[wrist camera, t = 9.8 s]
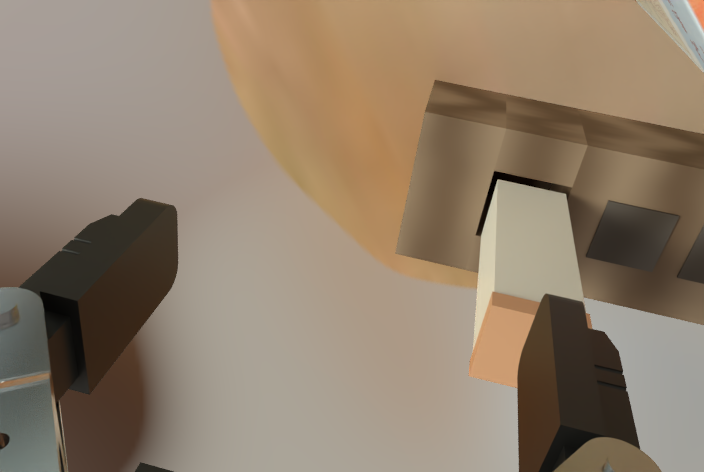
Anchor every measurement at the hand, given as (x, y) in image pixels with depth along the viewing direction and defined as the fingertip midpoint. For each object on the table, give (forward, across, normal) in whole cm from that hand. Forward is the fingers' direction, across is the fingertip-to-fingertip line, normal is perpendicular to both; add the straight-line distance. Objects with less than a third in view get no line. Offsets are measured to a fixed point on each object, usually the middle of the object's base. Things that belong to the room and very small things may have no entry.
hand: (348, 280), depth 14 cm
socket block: (+30, -11, +10) cm, 34 cm away
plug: (+24, -7, +10) cm, 27 cm away
